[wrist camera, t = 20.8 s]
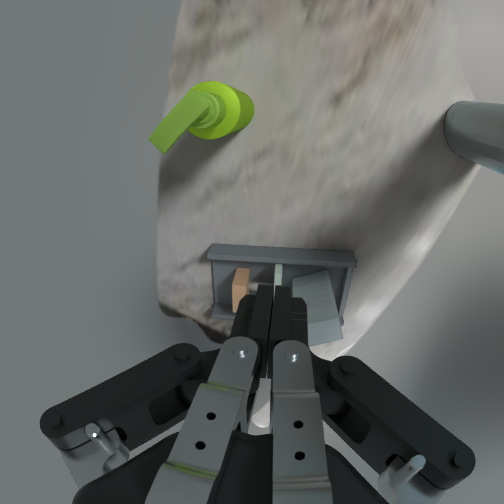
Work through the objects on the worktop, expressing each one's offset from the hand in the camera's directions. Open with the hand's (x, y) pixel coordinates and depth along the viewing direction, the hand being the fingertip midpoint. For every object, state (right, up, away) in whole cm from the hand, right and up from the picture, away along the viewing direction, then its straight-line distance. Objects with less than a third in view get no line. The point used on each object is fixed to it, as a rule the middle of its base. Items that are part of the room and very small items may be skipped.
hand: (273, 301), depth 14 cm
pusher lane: (+4, -2, +35) cm, 35 cm away
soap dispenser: (-4, +21, +24) cm, 32 cm away
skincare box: (+9, -3, +34) cm, 35 cm away
